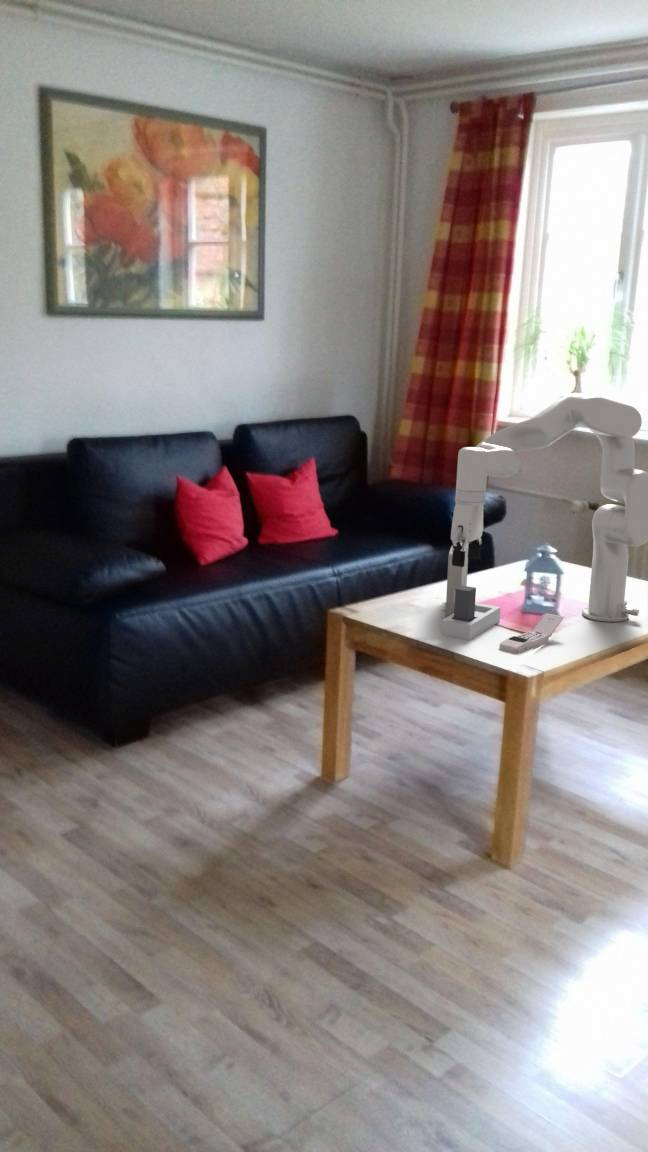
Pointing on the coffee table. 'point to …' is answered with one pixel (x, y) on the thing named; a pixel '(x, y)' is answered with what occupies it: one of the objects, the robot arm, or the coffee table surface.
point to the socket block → (469, 630)
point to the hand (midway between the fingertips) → (466, 562)
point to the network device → (455, 580)
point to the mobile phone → (533, 635)
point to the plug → (464, 603)
